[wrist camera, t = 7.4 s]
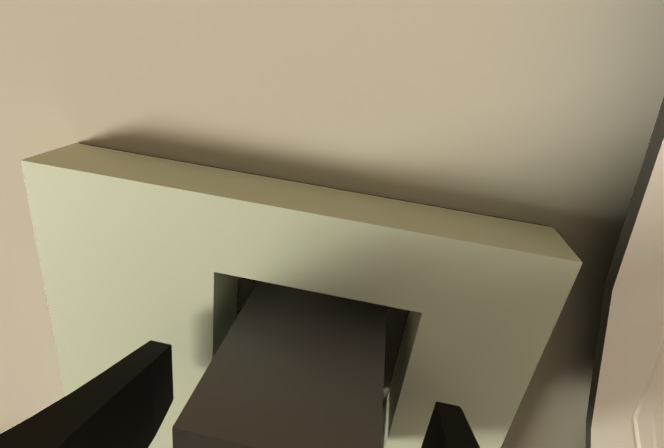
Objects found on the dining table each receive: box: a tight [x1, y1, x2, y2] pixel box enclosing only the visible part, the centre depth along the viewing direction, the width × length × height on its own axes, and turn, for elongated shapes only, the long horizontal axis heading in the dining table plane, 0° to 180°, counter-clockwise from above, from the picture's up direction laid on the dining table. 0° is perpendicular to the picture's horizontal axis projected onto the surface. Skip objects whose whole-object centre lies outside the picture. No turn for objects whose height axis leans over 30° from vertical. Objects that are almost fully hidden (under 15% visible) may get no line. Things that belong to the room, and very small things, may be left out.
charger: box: [172, 281, 387, 448], centre depth 11 cm, size 4×4×7 cm
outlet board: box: [21, 143, 583, 448], centre depth 14 cm, size 14×14×2 cm
